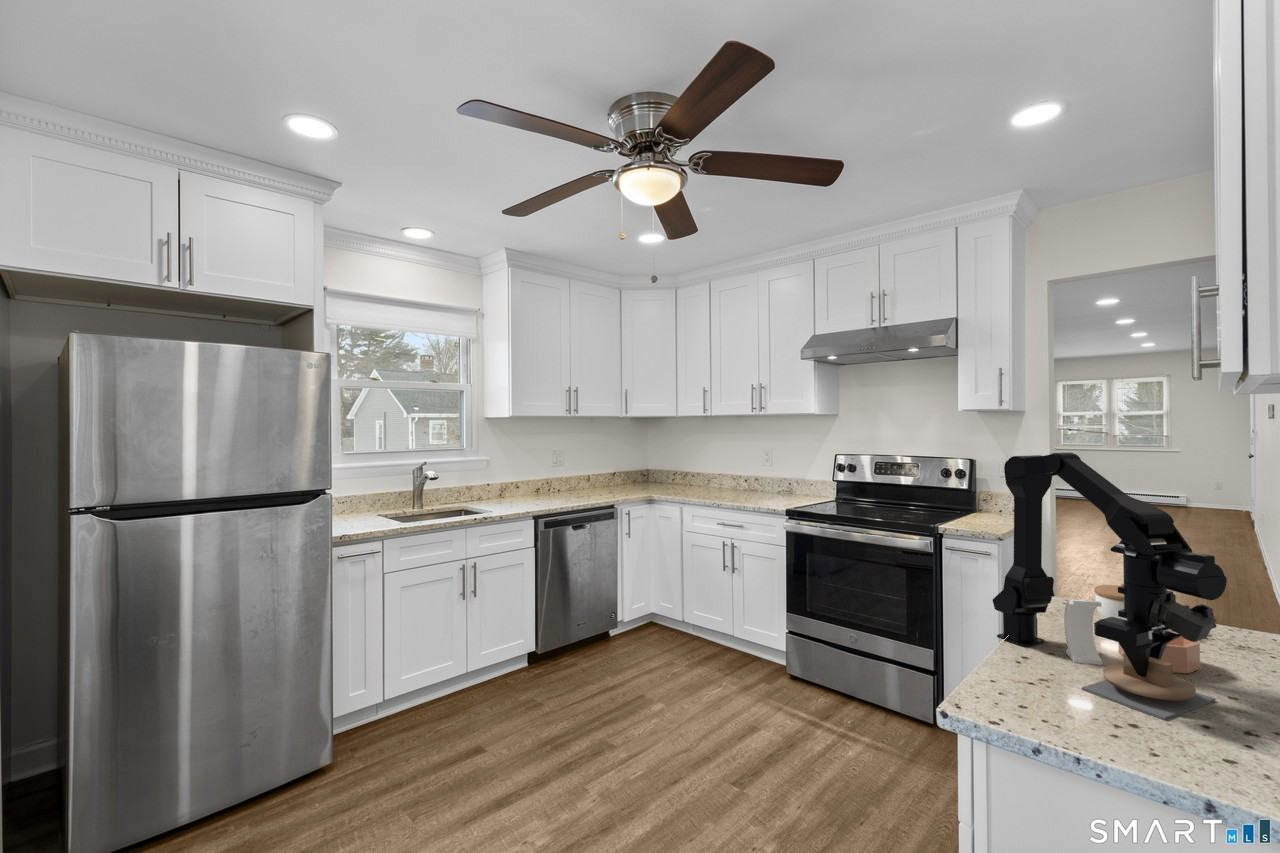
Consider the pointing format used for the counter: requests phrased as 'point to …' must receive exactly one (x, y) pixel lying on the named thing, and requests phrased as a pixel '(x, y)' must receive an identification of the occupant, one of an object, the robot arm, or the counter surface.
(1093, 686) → the mat
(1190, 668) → the bowl
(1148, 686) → the lid
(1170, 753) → the counter surface
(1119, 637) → the robot arm
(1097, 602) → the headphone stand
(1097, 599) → the lidded jar
